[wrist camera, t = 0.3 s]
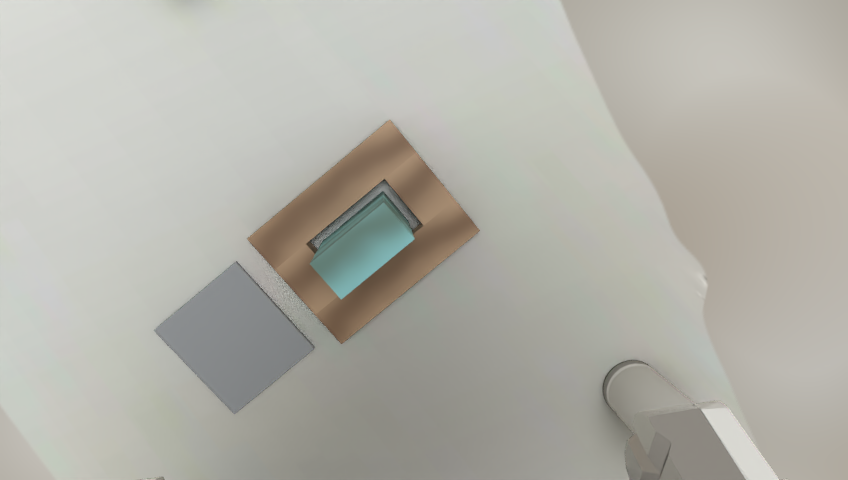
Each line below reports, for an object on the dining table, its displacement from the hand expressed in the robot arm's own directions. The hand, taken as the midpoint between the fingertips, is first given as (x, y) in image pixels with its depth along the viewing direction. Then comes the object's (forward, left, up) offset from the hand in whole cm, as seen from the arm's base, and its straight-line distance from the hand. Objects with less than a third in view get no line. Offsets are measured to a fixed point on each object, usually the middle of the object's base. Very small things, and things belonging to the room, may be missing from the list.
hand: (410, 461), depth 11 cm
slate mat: (-1, +21, -52) cm, 56 cm away
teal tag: (-1, +4, -52) cm, 52 cm away
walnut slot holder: (-1, +4, -52) cm, 52 cm away
